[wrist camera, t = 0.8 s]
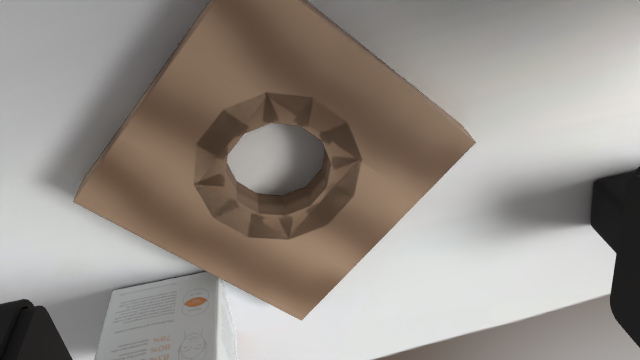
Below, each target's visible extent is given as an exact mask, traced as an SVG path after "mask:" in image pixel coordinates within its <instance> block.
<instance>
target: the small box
mask: <svg viewBox="0 0 640 360" xmlns="http://www.w3.org/2000/svg"><path fill="white" fill-rule="evenodd" d="M94 360H237V336H236V326H235V323H234V320H233V317H232V313H231V310H230V307H229V303H228V300H227V297H226V293H225V290H224V286H223V283H222V280H221V278H219V277H217V276H215V275H213V274H211V273H209V272H203V273H198V274H193V275H188V276H183V277H178V278H173V279H168V280H163V281H158V282H153V283H148V284H143V285H138V286H133V287H128V288H123V289H118V290H113V291H112V295H111V298H110V302H109V306H108V310H107V313H106V317H105V321H104V324H103V328H102V332H101V336H100V340H99V343H98V347H97V351H96V355H95V359H94Z"/></svg>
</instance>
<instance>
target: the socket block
mask: <svg viewBox="0 0 640 360" xmlns="http://www.w3.org/2000/svg"><path fill="white" fill-rule="evenodd" d="M270 123H277V124H287V125H297V126H301V127H302V128H304V129H305V130H307V131H308V132H310V133H311V134H313V135H314V136H315V137H317V138H318V139H320V140H321V141H322V142H323V145H324V147H325V155H324V160H323V165H322V169H321V170H320V171H319V173H318V174H317V175H316V176H315V177H314V178H313V179H312V181H311V182H310V183H309V184H308V185H307V186H306V187H304V188H302V189H299V190H297V191H294V192H291V193H289V194H286V195H284V196H277V195H264V194H257V193H255V192H253V191H252V190H250V189H248V188H247V187H245V186H243V185H242V184H240V183H239V182H237V181H236V179H235V177H234V175H233V174H232V172H231V170H230V168H229V166H228V164H227V155H228V153H229V152H230V151H231V150H232V148H233V147H234V146H235V145H236V143H237V142H238V141H239V140H240V138H241V137H242V136H243V135H244V134H245V133H247V132H250V131H252V130H255V129H257V128H260V127H262V126H265V125H267V124H270ZM475 143H476V142H475V141H474V139H473V138H472V137H471V136H470V134H469V133H468V132H467V131H466V129H465V128H464V127H463V126H462V125H461V124H460V123H458V122H457V121H456V120H455V119H453V118H452V117H451V116H450V115H448V114H447V113H446V112H445V111H443V110H442V109H441V108H440V107H438V106H437V105H436V104H435V103H433V102H432V101H431V100H430V99H429V98H427V97H426V96H425V95H424V94H422V93H421V92H420V91H419V90H417V89H416V88H415V87H414V86H412V85H411V84H410V83H409V82H407V81H406V80H405V79H404V78H402V77H401V76H400V75H399V74H397V73H396V72H395V71H394V70H392V69H391V68H390V67H389V66H387V65H386V64H385V63H384V62H382V61H381V60H380V59H379V58H377V57H376V56H375V55H374V54H372V53H371V52H370V51H369V50H367V49H366V48H365V47H364V46H362V45H361V44H360V43H359V42H358V41H356V40H355V39H354V38H353V37H351V36H350V35H349V34H348V33H346V32H345V31H344V30H343V29H341V28H340V27H339V26H338V25H336V24H335V23H334V22H333V21H331V20H330V19H329V18H328V17H326V16H325V15H324V14H323V13H321V12H320V11H319V10H318V9H316V8H315V7H314V6H313V5H311V4H310V3H309V2H308V1H306V0H210V2H209V3H208V4H207V6H206V7H205V9H204V10H203V11H202V13H201V14H200V16H199V17H198V18H197V20H196V21H195V23H194V24H193V26H192V27H191V28H190V30H189V31H188V33H187V34H186V35H185V37H184V38H183V40H182V41H181V42H180V44H179V45H178V47H177V48H176V50H175V51H174V52H173V54H172V55H171V57H170V58H169V59H168V61H167V62H166V64H165V65H164V66H163V68H162V69H161V71H160V72H159V74H158V75H157V76H156V78H155V79H154V81H153V82H152V83H151V85H150V86H149V88H148V89H147V90H146V92H145V93H144V95H143V96H142V98H141V99H140V100H139V102H138V103H137V105H136V106H135V107H134V109H133V110H132V112H131V113H130V115H129V116H128V117H127V119H126V120H125V122H124V123H123V124H122V126H121V127H120V129H119V130H118V131H117V133H116V134H115V136H114V137H113V139H112V140H111V141H110V143H109V144H108V146H107V147H106V148H105V150H104V151H103V153H102V154H101V155H100V157H99V158H98V160H97V161H96V163H95V164H94V165H93V167H92V168H91V170H90V171H89V172H88V174H87V175H86V177H85V178H84V179H83V181H82V183H81V185H80V187H79V190H78V192H77V194H76V196H75V199H74V201H73V202H75V203H76V204H78V205H80V206H82V207H84V208H86V209H88V210H90V211H92V212H94V213H96V214H98V215H100V216H101V217H103V218H105V219H107V220H109V221H111V222H113V223H115V224H117V225H119V226H121V227H123V228H125V229H126V230H128V231H130V232H132V233H134V234H136V235H138V236H140V237H142V238H144V239H146V240H148V241H149V242H151V243H153V244H155V245H157V246H159V247H161V248H163V249H165V250H167V251H169V252H171V253H173V254H174V255H176V256H178V257H180V258H182V259H184V260H186V261H188V262H190V263H192V264H194V265H196V266H198V267H199V268H201V269H203V270H205V271H207V272H209V273H211V274H213V275H215V276H217V277H219V278H221V279H223V280H224V281H226V282H228V283H230V284H232V285H234V286H236V287H238V288H240V289H242V290H244V291H246V292H248V293H249V294H251V295H253V296H255V297H257V298H259V299H261V300H263V301H265V302H267V303H269V304H271V305H273V306H274V307H276V308H278V309H280V310H282V311H284V312H286V313H288V314H290V315H292V316H294V317H296V318H298V319H299V320H301V321H302V320H303V319H304V317H305V316H306V315H307V314H308V313H309V312H310V311H311V310H312V309H313V308H314V307H315V306H316V305H317V304H318V303H319V302H320V301H321V300H322V299H323V298H324V297H325V296H326V295H327V294H328V293H329V292H330V291H331V290H332V289H333V288H334V287H335V286H336V285H337V284H338V283H339V282H340V281H341V280H342V279H343V278H344V277H345V276H346V275H347V274H348V273H349V271H350V270H351V269H352V268H353V267H354V266H355V265H356V264H357V263H358V262H359V261H360V260H361V259H362V258H363V257H364V256H365V255H366V254H367V253H368V252H369V251H370V250H371V249H372V248H373V247H374V246H375V245H376V244H377V243H378V242H379V241H380V240H381V239H382V238H383V237H384V236H385V235H386V234H387V233H388V232H389V231H390V230H391V229H392V228H393V227H394V225H395V224H396V223H397V222H398V221H399V220H400V219H401V218H402V217H403V216H404V215H405V214H406V213H407V212H408V211H409V210H410V209H411V208H412V207H413V206H414V205H415V204H416V203H417V202H418V201H419V200H420V199H421V198H422V197H423V196H424V195H425V194H426V193H427V192H428V191H429V190H430V189H431V188H432V187H433V186H434V185H435V184H436V183H437V182H438V181H439V179H440V178H441V177H442V176H443V175H444V174H445V173H446V172H447V171H448V170H449V169H450V168H451V167H452V166H453V165H454V164H455V163H456V162H457V161H458V160H459V159H460V158H461V157H462V156H463V155H464V154H465V153H466V152H467V151H468V150H469V149H470V148H471V147H472V146H473V145H474V144H475Z"/></svg>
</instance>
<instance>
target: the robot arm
mask: <svg viewBox="0 0 640 360" xmlns="http://www.w3.org/2000/svg"><path fill="white" fill-rule="evenodd" d="M610 306H611V310H612V313H613V315H614V317H615V319H616V320H617V321H618V323H619V324H620V325H621V326H622V327H623V329H624V330H625V331H626V332H627V333H628V335H629V336H630V337H631V338H632V339H633V340H634V342H635V343H636V344H637V345H638V346H639V347H640V167H639V168H638V169H637V170H636V173H635V176H633V177H630V179H629V180H628V183H627V187H626V194H625V201H624V207H623V214H622V221H621V228H620V234H619V241H618V248H617V255H616V262H615V268H614V275H613V282H612V289H611V295H610ZM0 360H72V358H71V356H70V354H69V352H68V350H67V348H66V346H65V344H64V342H63V340H62V338H61V336H60V335H59V333H58V331H57V329H56V327H55V325H54V323H53V321H52V319H51V317H50V315H49V313H48V312H47V310H46V309H45V308H44V307H43V306H35V307H34V305H33V304H32V303H31V302H30V301H29V300H26V299H22V300H18V301H13V302H8V303H4V304H0Z"/></svg>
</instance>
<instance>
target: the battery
mask: <svg viewBox="0 0 640 360" xmlns="http://www.w3.org/2000/svg"><path fill="white" fill-rule="evenodd" d="M635 173H636V172H633V173H628V174H624V175H619V176H615V177H610V178H606V179H601V180H598V181H596V182H595V183H594V186H593V198H592V212H591V226H592V227H593V228H594V229H595V230H596V232H597V233H598V234H599V235H600V236H601V237H602V238H603V239H604V240H605V241H606V242H607V243H608V245H609V246H610V247H611V248H612V249H613V250H614V251H615V252H616V253H617V248H618V241H619V234H620V228H621V221H622V214H623V207H624V201H625V194H626V187H627V183H628V180H629V179H630V177H633V176H635Z"/></svg>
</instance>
